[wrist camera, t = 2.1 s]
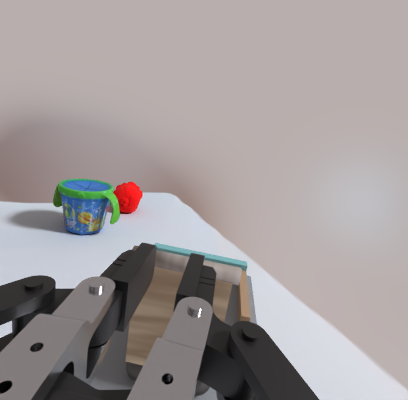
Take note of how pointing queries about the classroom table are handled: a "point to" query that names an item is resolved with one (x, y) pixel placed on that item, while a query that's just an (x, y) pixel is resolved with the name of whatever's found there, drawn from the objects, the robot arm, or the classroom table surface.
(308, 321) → the classroom table surface
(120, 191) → the flower
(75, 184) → the snack cup
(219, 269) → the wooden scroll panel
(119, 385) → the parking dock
